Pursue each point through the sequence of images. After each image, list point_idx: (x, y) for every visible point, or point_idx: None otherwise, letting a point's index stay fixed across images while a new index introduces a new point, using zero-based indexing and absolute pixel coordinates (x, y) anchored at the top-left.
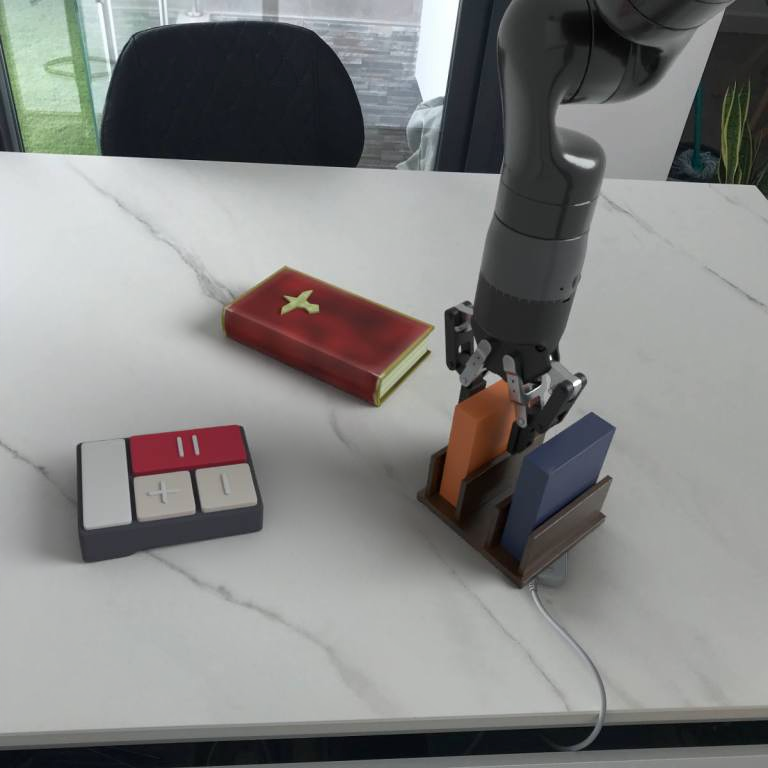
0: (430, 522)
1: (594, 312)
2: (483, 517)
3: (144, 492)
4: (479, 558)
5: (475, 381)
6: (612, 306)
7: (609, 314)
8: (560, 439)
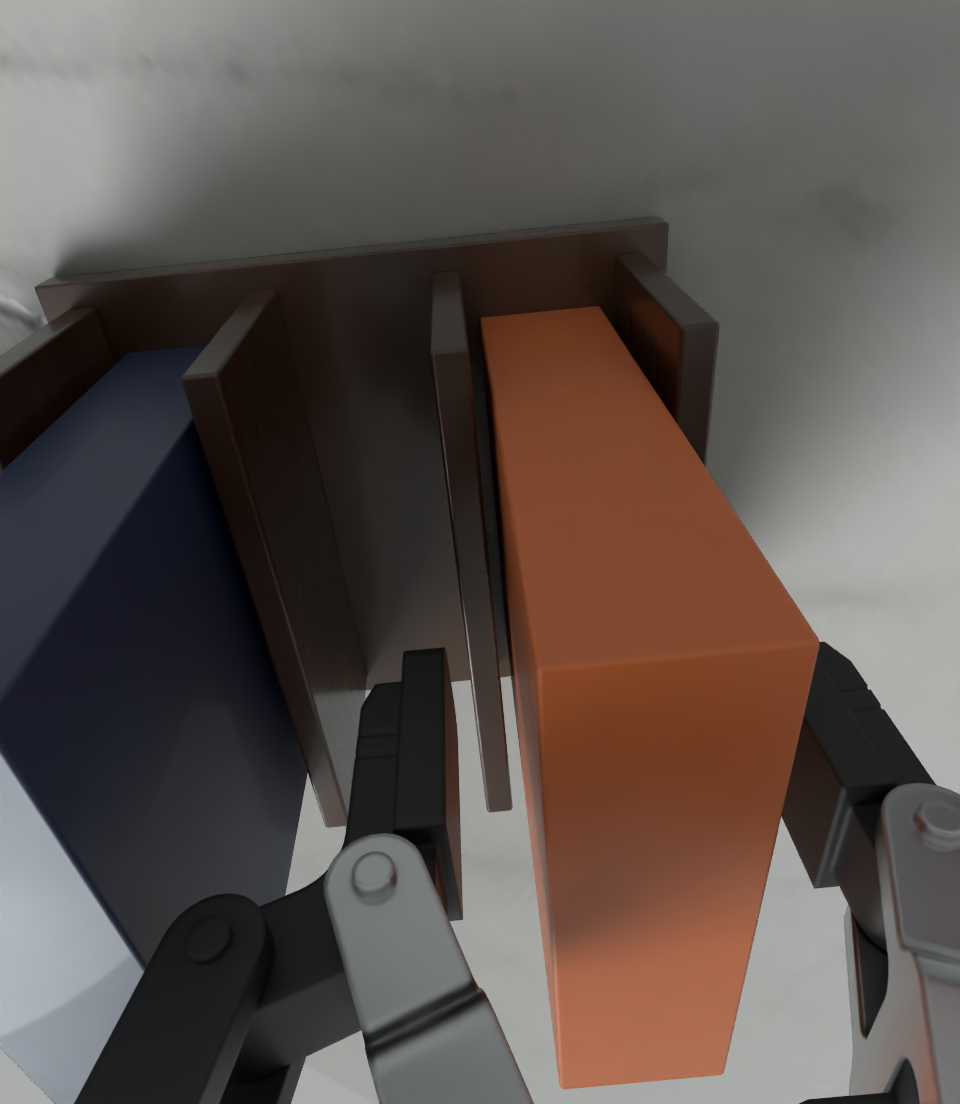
0: (518, 178)
1: (795, 1046)
2: (397, 380)
3: None
4: (254, 235)
5: (867, 862)
6: (775, 1074)
7: (763, 1060)
8: (85, 957)
